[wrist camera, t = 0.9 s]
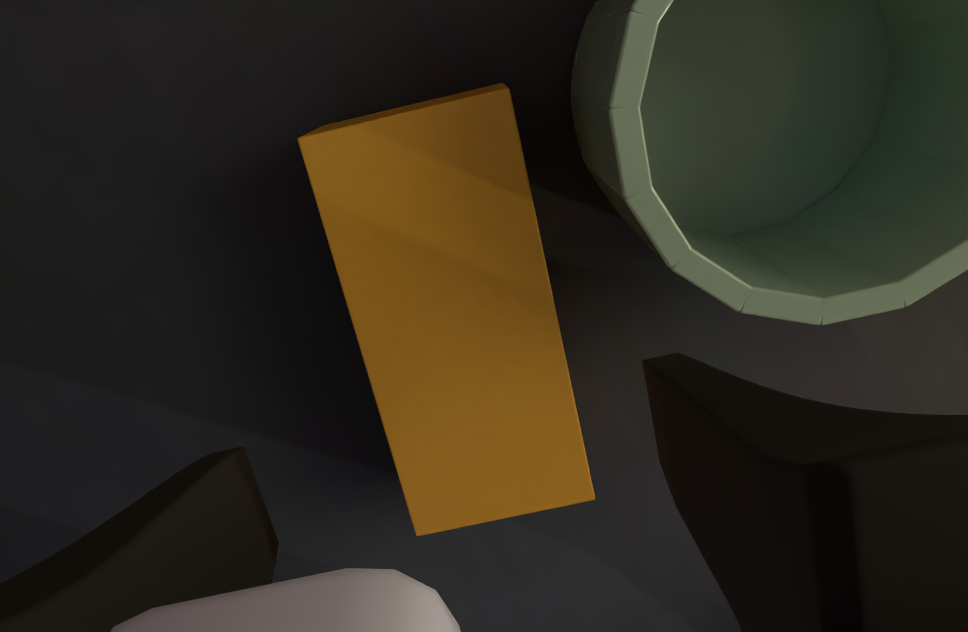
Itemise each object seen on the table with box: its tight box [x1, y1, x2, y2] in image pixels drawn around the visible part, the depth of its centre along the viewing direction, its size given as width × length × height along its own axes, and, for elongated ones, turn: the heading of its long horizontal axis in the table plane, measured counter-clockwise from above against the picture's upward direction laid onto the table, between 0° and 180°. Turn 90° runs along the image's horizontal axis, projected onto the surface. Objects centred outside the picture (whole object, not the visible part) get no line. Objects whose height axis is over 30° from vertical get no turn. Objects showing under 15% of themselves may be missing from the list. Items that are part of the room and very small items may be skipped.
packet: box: [298, 83, 595, 536], centre depth 21 cm, size 5×11×3 cm, turn 13°
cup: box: [570, 0, 968, 325], centre depth 18 cm, size 9×9×6 cm
